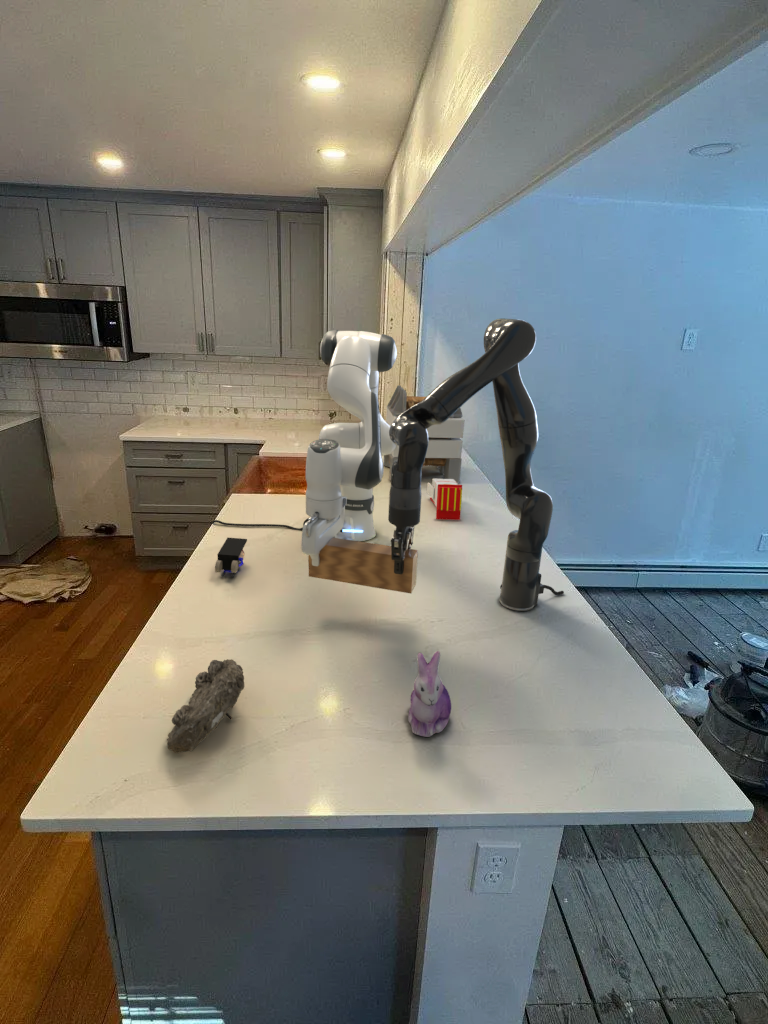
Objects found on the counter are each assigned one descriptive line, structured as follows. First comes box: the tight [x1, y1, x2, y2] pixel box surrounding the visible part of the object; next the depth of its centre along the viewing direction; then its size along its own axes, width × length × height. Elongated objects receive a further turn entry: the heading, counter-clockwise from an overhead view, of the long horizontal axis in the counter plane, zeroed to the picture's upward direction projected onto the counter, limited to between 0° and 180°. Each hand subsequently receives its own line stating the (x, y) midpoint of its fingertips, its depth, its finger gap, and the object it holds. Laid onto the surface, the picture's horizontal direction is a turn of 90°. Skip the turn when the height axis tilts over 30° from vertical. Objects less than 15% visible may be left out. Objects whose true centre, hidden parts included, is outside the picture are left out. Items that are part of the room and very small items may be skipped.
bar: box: [307, 538, 419, 594], centre depth 142 cm, size 27×5×10 cm, turn 74°
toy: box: [426, 478, 463, 521], centre depth 226 cm, size 12×13×30 cm
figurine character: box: [214, 537, 248, 578], centre depth 166 cm, size 7×8×15 cm
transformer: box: [383, 384, 465, 484], centre depth 268 cm, size 34×33×41 cm
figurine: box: [407, 650, 452, 738], centre depth 107 cm, size 9×10×15 cm
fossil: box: [166, 658, 245, 754], centre depth 106 cm, size 22×10×15 cm
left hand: (323, 557), depth 144 cm, fingers open, 8 cm apart
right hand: (401, 568), depth 139 cm, fingers closed on bar, 5 cm apart
